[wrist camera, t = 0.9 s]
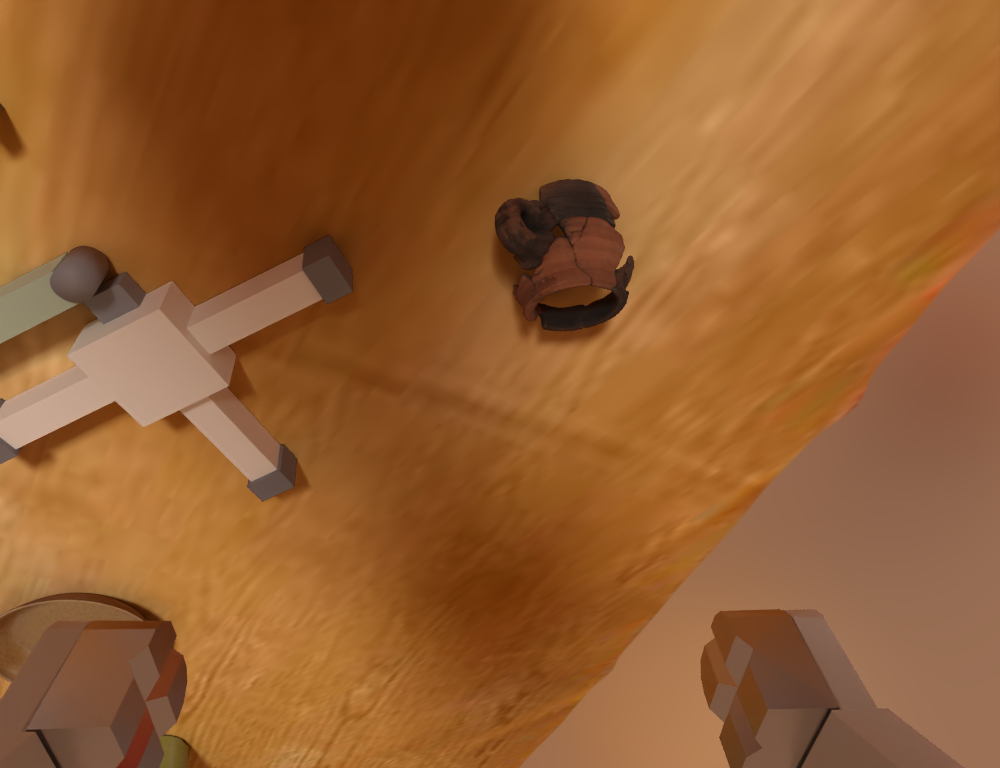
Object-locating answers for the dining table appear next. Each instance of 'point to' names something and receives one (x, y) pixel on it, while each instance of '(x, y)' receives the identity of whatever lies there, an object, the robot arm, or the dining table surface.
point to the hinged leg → (50, 290)
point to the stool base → (180, 361)
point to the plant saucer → (17, 631)
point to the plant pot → (174, 752)
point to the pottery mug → (566, 252)
